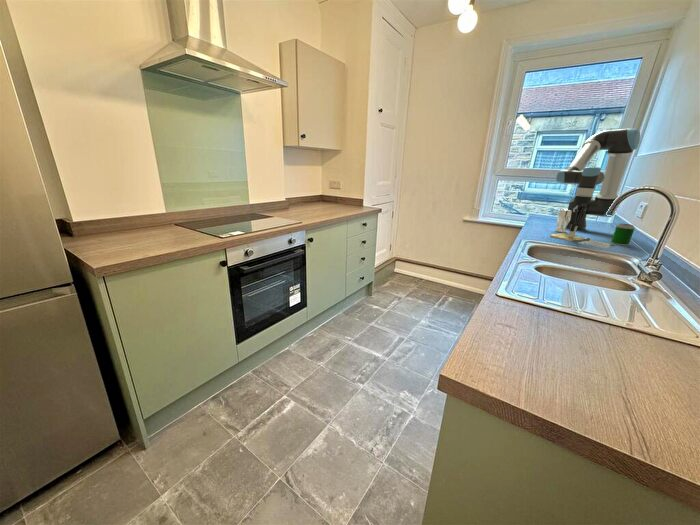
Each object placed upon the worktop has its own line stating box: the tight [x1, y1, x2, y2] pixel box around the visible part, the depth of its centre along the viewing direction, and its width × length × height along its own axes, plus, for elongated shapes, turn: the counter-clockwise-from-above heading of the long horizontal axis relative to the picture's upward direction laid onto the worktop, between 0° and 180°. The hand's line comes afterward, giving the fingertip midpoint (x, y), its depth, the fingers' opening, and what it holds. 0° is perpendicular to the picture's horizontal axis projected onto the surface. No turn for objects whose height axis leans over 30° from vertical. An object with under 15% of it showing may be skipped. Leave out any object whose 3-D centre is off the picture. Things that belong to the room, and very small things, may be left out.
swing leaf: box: [549, 232, 591, 244], centre depth 167 cm, size 16×14×2 cm
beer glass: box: [554, 208, 572, 233], centre depth 185 cm, size 7×7×15 cm
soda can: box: [610, 223, 635, 246], centre depth 158 cm, size 8×8×12 cm
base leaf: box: [578, 239, 618, 249], centre depth 157 cm, size 16×14×2 cm
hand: (571, 236), depth 167 cm, fingers closed
